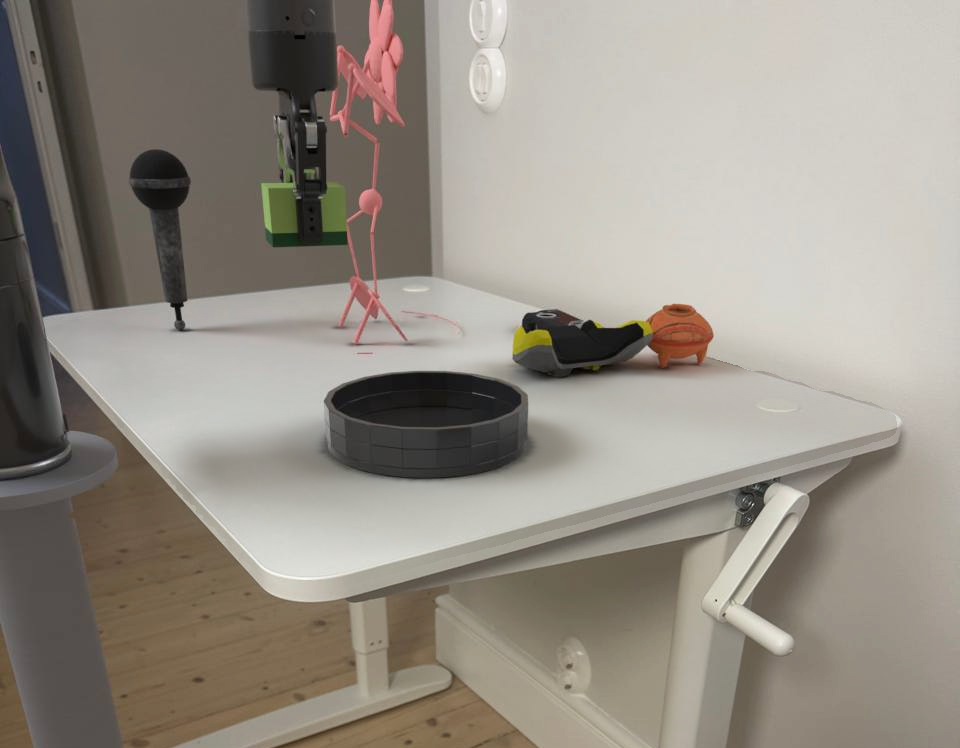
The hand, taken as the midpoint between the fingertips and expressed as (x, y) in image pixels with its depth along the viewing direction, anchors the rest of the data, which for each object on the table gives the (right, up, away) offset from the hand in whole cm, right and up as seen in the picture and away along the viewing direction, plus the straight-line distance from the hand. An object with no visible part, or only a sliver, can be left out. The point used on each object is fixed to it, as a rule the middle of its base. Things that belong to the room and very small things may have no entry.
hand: (306, 239), depth 93 cm
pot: (+38, -7, +17) cm, 42 cm away
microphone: (-20, 0, +28) cm, 35 cm away
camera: (+26, -1, +28) cm, 38 cm away
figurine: (+7, 0, +28) cm, 29 cm away
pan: (+12, -21, -8) cm, 25 cm away
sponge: (0, 0, 0) cm, 0 cm away
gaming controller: (+27, -9, +14) cm, 31 cm away
